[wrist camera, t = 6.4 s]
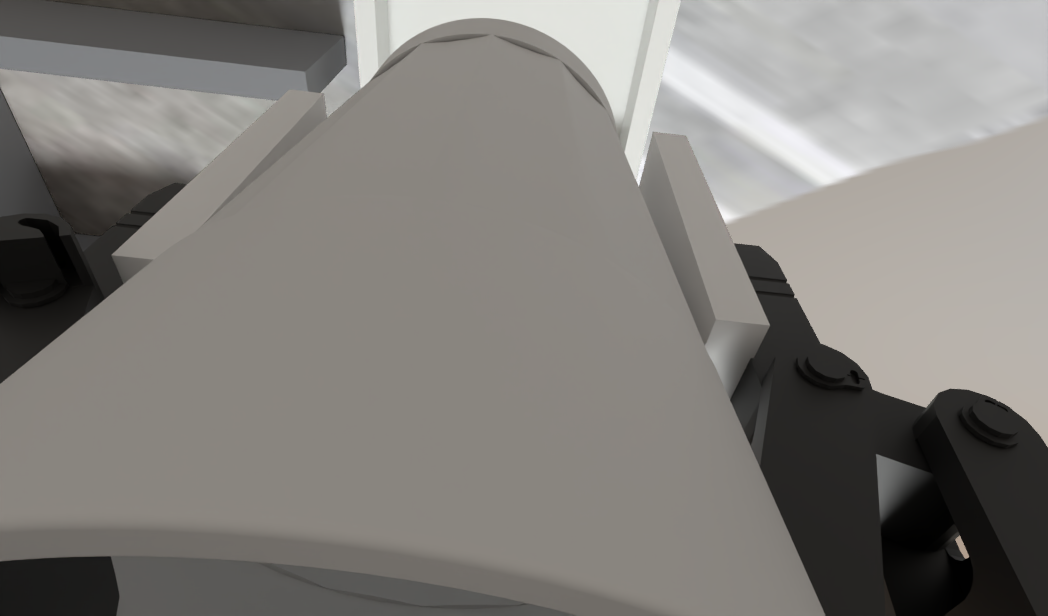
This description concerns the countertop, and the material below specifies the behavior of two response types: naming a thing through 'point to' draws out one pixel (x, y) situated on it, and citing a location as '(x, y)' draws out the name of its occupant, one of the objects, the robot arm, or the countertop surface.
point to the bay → (145, 68)
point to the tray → (565, 15)
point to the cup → (408, 380)
